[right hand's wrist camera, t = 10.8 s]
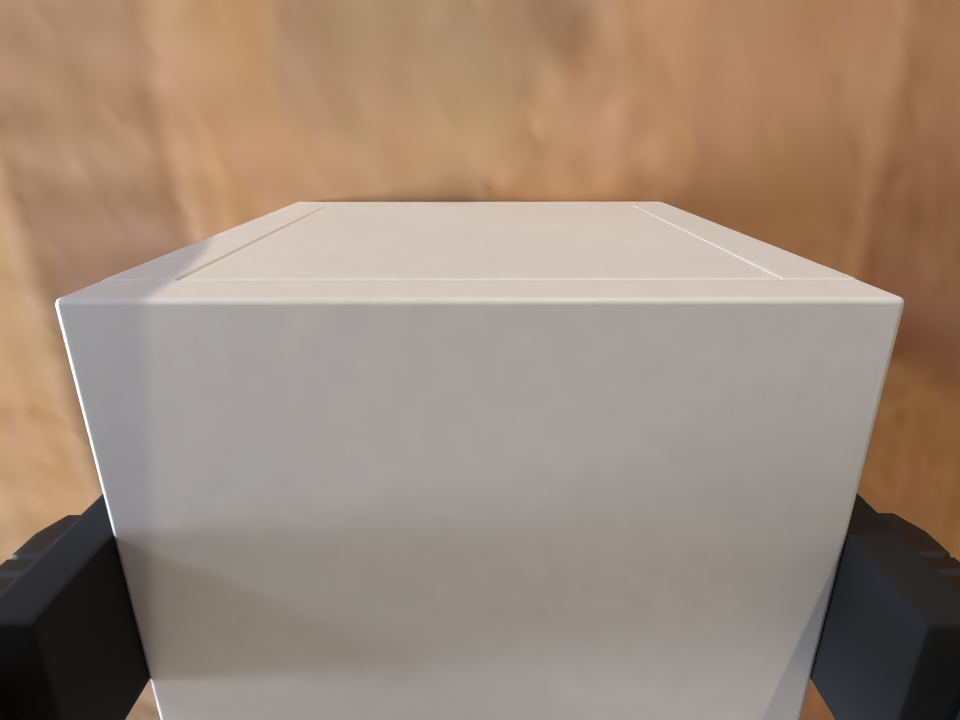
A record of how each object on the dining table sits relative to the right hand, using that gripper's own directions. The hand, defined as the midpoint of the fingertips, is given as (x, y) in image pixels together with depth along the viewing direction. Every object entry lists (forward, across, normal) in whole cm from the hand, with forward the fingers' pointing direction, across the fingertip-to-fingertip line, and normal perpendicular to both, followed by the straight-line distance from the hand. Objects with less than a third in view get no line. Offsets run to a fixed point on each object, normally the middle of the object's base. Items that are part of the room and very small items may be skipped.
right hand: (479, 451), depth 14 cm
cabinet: (+6, 0, -6) cm, 8 cm away
